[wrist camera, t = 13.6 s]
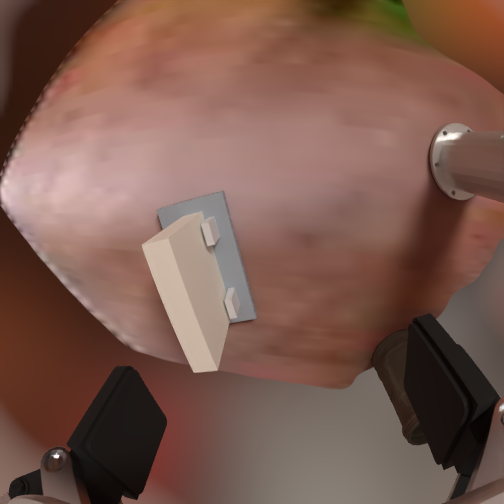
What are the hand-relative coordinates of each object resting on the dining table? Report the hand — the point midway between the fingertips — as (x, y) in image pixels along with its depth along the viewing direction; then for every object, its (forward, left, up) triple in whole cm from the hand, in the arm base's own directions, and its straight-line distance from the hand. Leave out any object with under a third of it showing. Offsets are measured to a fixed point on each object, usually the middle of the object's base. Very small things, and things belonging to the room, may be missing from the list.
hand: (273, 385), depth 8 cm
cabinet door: (+11, +6, -32) cm, 34 cm away
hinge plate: (+11, +6, -33) cm, 36 cm away
